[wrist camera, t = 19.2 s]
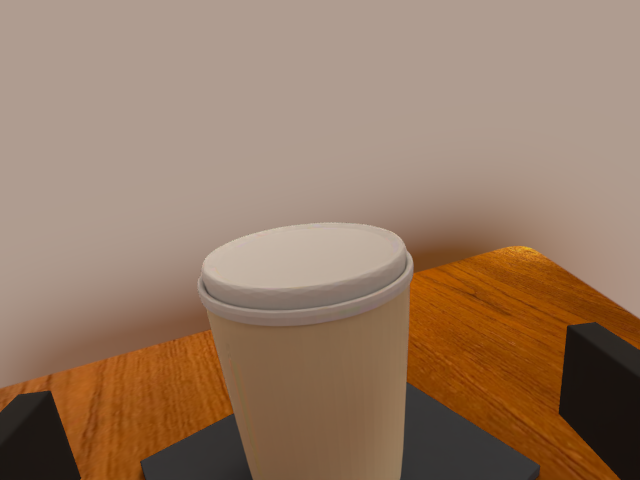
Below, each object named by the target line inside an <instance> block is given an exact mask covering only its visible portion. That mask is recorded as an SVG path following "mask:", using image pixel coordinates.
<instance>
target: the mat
mask: <svg viewBox="0 0 640 480" xmlns="http://www.w3.org/2000/svg"><path fill="white" fill-rule="evenodd" d="M140 463H141V466H142V470H143V473H144V476H145V479H146V480H253V478H252V475H251V471H250V468H249V465H248V461H247V458H246V454H245V451H244V447H243V443H242V440H241V436H240V433H239V429H238V426H237V422H236V418H235V415H234V413H233V414H231V415H229V416H228V417H226V418H224V419H222V420H220V421H218V422H216V423H214V424H212V425H210V426H208V427H206V428H204V429H202V430H200V431H198V432H196V433H194V434H193V435H191V436H189V437H187V438H185V439H183V440H181V441H179V442H177V443H175V444H173V445H171V446H169V447H167V448H165V449H163V450H161V451H159V452H158V453H156V454H154V455H152V456H150V457H148V458H146V459H144V460H142V461H141V462H140ZM539 471H540V465H538V464H537V463H535V462H533V461H532V460H530V459H529V458H527V457H525V456H524V455H522V454H521V453H519V452H517V451H516V450H514V449H513V448H511V447H509V446H508V445H506V444H505V443H503V442H502V441H500V440H498V439H497V438H495V437H494V436H492V435H490V434H489V433H487V432H486V431H484V430H482V429H481V428H479V427H478V426H476V425H474V424H473V423H471V422H470V421H468V420H466V419H465V418H463V417H462V416H460V415H458V414H457V413H455V412H454V411H452V410H451V409H449V408H447V407H446V406H444V405H443V404H441V403H439V402H438V401H436V400H435V399H433V398H431V397H430V396H428V395H427V394H425V393H423V392H422V391H420V390H419V389H417V388H415V387H414V386H412V385H411V384H409V383H407V382H406V399H405V420H404V441H403V456H402V467H401V477H400V480H535V479H536V478H537V477H538V475H539Z"/></svg>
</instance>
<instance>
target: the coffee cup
mask: <svg viewBox="0 0 640 480" xmlns="http://www.w3.org/2000/svg"><path fill="white" fill-rule="evenodd" d="M201 272H202V273H201V275H200V277H199V279H198V283H197V285H198V293H199V296H200V299H201V302H202V304H203V305H204V306H205V307H206V309H207V314H208V318H209V322H210V326H211V330H212V334H213V338H214V341H215V345H216V349H217V353H218V356H219V360H220V364H221V368H222V371H223V375H224V379H225V382H226V386H227V390H228V393H229V397H230V400H231V404H232V408H233V411H234V415H235V418H236V422H237V426H238V429H239V433H240V436H241V440H242V443H243V447H244V451H245V454H246V458H247V461H248V465H249V468H250V471H251V475H252V478H253V480H400V477H401V467H402V456H403V441H404V420H405V399H406V379H407V355H408V330H409V293H410V282H411V280H412V277H413V260H412V257H411V255H410V254H409V252H408V251H407V250H406V247H405V244H404V242H403V240H402V239H401V238H400V237H399V236H398V235H396V234H394V233H392V232H390V231H388V230H385V229H383V228H378V227H374V226H370V225H363V224H354V223H314V224H302V225H293V226H287V227H280V228H275V229H270V230H266V231H261V232H258V233H254V234H251V235H247V236H244V237H241V238H238V239H236V240H233V241H231V242H229V243H226V244H225V245H223V246H221V247H219V248H217V249H216V250H214V251H213V252H212V253H210V254H209V255H208V256H207V257H206V259H205V260H204V262H203V264H202V269H201Z"/></svg>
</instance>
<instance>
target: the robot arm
mask: <svg viewBox="0 0 640 480" xmlns="http://www.w3.org/2000/svg"><path fill="white" fill-rule="evenodd" d="M559 414H560V415H561V416H562V417H563V419H564V420H565V421H566V422H567V423H568V424H569V425H570V426H571V427H572V428H573V429H574V430H575V431H576V432H577V433H578V435H579V436H580V437H581V438H582V439H583V440H584V441H585V442H586V443H587V444H588V445H589V446H590V447H591V448H592V449H593V450H594V452H595V453H596V454H597V455H598V456H599V457H600V458H601V459H602V460H603V461H604V462H605V463H606V464H607V465H608V466H609V468H610V469H611V470H612V471H613V472H614V473H615V474H616V475H617V476H618V477H619V478H620V479H621V480H640V350H639V349H637V348H636V347H634V346H632V345H631V344H629V343H628V342H626V341H625V340H623V339H621V338H620V337H618V336H617V335H615V334H614V333H612V332H610V331H609V330H607V329H606V328H604V327H603V326H601V325H599V324H598V323H596V322H593V323H585V324H577V325H569V326H567V335H566V345H565V355H564V365H563V375H562V385H561V395H560V405H559ZM80 479H81V477H80V474H79V471H78V468H77V465H76V462H75V459H74V457H73V454H72V451H71V448H70V445H69V442H68V439H67V436H66V434H65V431H64V428H63V425H62V422H61V419H60V416H59V413H58V411H57V408H56V405H55V402H54V399H53V396H52V393H51V391H43V392H35V393H27V394H19V395H17V396H16V397H15V398H14V399H13V400H12V401H11V402H10V403H9V404H8V405H7V406H6V407H5V408H4V409H3V410H2V411H1V412H0V480H80Z"/></svg>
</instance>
